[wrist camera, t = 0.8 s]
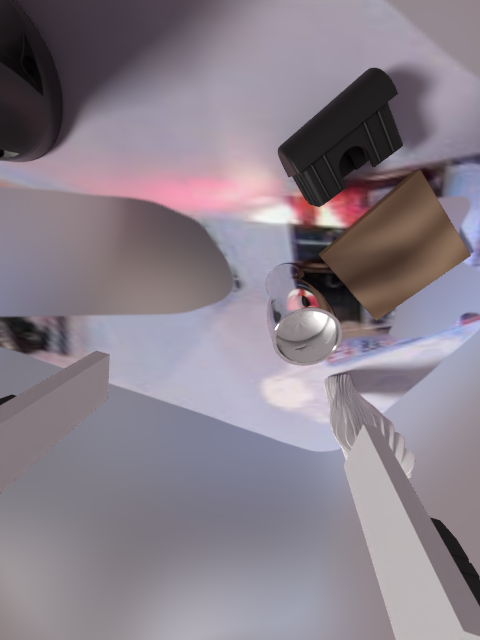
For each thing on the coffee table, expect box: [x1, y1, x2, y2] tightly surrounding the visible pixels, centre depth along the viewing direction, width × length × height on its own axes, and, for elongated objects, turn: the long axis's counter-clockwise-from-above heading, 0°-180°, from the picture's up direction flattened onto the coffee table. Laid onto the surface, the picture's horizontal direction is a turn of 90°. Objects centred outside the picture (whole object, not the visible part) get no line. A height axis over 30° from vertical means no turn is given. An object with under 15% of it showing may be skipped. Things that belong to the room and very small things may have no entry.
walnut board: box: [319, 170, 471, 320], centre depth 33 cm, size 14×14×1 cm
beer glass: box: [265, 264, 342, 365], centre depth 30 cm, size 7×7×15 cm
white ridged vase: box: [324, 374, 415, 478], centre depth 38 cm, size 8×8×18 cm
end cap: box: [278, 68, 403, 207], centre depth 25 cm, size 10×7×7 cm
